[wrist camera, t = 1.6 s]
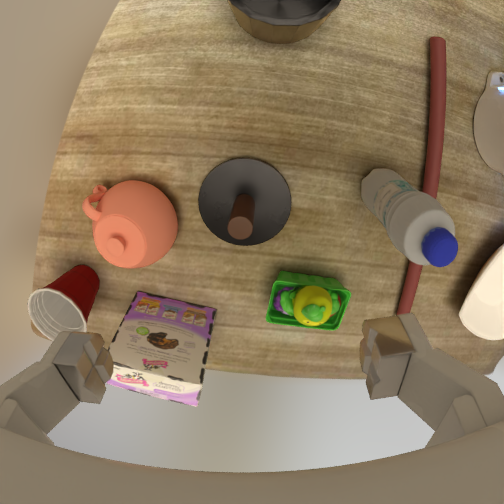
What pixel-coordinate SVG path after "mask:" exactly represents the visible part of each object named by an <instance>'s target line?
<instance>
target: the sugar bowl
mask: <svg viewBox="0 0 504 504" xmlns="http://www.w3.org/2000/svg"><path fill="white" fill-rule="evenodd" d="M97 201H99V203H98V205H97V207H96V209H95V208H93V207H92V205H91V204H90V203H93V202H97ZM83 211H84V212H85V214H86V215H87V216H88V217H89V218H91V219H92V220H93V237H94V241H95V244H96V247H97V249H98V251H99V252H100V254H101V255H102V256H103V257H104V258H105V259H106V260H107V261H108V262H110V263H111V264H113V265H116V266H118V267H122V268H141V267H145V266H148V265H151V264H153V263H155V262H156V261H158V260H159V259H161V258H162V257H163V256H164V255H165V254H166V253H167V252H168V251H169V250H170V248H171V247H172V245H173V244H174V242H175V239H176V236H177V231H178V222H177V216H176V213H175V210H174V207H173V206H172V204H171V202H170V201H169V199H168V198H167V197H166V196H165V195H164V193H162V192H161V191H160V190H159V189H158V188H156V187H154V186H153V185H151V184H148V183H146V182H142V181H135V180H130V181H124V182H121V183H118V184H116V185H114V186H113V187H112V188H110V189H109V190H108V191H107V189H106V188H105V187H104V186H102V185H97V186H96V187H94V189H93V194H92V195H89V196H88V197H86V199H85V200H84V202H83Z"/></svg>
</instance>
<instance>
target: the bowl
mask: <svg viewBox="0 0 504 504" xmlns="http://www.w3.org/2000/svg"><path fill="white" fill-rule="evenodd" d="M459 317H460V319H461V321H462V323H463V325H464V326H465V327H466V328H467V329H468V330H469V331H471V332H472V333H473V334H475V335H476V336H479V337H481V338H484V339H488V340H501V339H503V338H504V244H503V245H501V246H500V247H499V248H498V249H497V250H496V251H495V252H494V253H493V254H492V256H491V257H490V258H489V259H488V260H487V262H486V263H485V264H484V265H483V267H482V268H481V270H480V272H479V273H478V275H477V277H476V279H475V280H474V282H473V284H472V286H471V288H470V290H469V292H468V294H467V296H466V298H465V301H464V303H463V305H462V307H461V309H460V312H459Z"/></svg>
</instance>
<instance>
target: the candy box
mask: <svg viewBox="0 0 504 504" xmlns="http://www.w3.org/2000/svg"><path fill="white" fill-rule="evenodd" d="M216 312H217V310H216V309H214V308H210V307H205V306H199V305H195V304H191V303H186V302H181V301H178V300H173V299H168V298H164V297H160V296H155V295H151V294H148V293H143V292H139V291H138V292H137V293H136V295H135V297H134V299H133V301H132V303H131V305H130V307H129V309H128V310H127V312H126V314H125V316H124V318H123V320H122V322H121V324H120V326H119V328H118V330H117V332H116V334H115V336H114V338H113V340H112V342H111V344H110V346H109V348H108V351H109V352H110V354H111V356H112V358H113V363H114V368H113V374H112V377H111V379H110V380H109V381H107V384H109V385H113V386H116V387H120V388H123V389H127V390H131V391H134V392H138V393H142V394H145V395H149V396H153V397H157V398H161V399H165V400H170V401H174V402H178V403H183V404H187V405H192V406H196V407H197V406H198V403H199V399H200V395H201V390H202V385H203V379H204V373H205V367H206V362H207V356H208V351H209V345H210V340H211V335H212V330H213V326H214V321H215V317H216Z"/></svg>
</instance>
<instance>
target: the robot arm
mask: <svg viewBox="0 0 504 504" xmlns="http://www.w3.org/2000/svg"><path fill="white" fill-rule="evenodd" d="M500 79H501V81H500ZM474 136H475V141H476V145H477V148H478V151H479V153H480V155H481V157H482V159H483V160H484V161H485V163H486V164H487V165H488V166H489V167H490V168H492V169H494V170H495V171H498V172H500V173H501V174H502V175H503V176H504V72H497V71H491V72H490V73H489V74H488V78H487V83H486V89H485V91H484V93H483V94H482V96H481V97H480V99H479V101H478V104H477V107H476V110H475V115H474ZM362 332H363V335H364V338H363V339H362V340H361V342H360V363H361V367H362V371H363V372H364V373H365V374H367V379H366V385H367V389H368V392H369V395H370V399H371V400H373V399H379V398H386V397H392V396H398V398H399V399H400V400H401V401H403V402H404V403H405V404H406V405H407V406H408V407H409V408H410V409H411V410H412V411H414V412H415V413H416V414H417V415H418V416H419V417H420V418H421V419H422V420H423V421H425V422H426V423H427V424H428V425H429V426H430V427H431V428H432V429H433V430H434V431H435V433H434V434H433V436H432V438H431V439H430V441H429V442H428V444H427V445H426V447H425V448H423V449H419V450H416V451H412V452H408V453H404V454H400V455H396V456H391V457H387V458H382V459H377V460H372V461H367V462H361V463H355V464H349V465H342V466H335V467H328V468H319V469H310V470H297V471H284V472H258V473H257V472H256V473H233V472H229V473H228V472H204V471H189V470H178V469H167V468H160V467H151V466H145V465H138V464H132V463H126V462H120V461H115V460H110V459H105V458H100V457H96V456H91V455H87V454H83V453H79V452H75V451H71V450H68V449H64V448H60V447H57V446H54V443H53V442H52V441H51V440H50V438H49V437H48V436H47V434H48V433H49V432H50V431H51V430H52V429H53V428H54V427H55V426H56V425H57V424H58V423H59V422H60V421H61V420H62V419H63V418H64V417H65V416H66V415H67V414H68V413H70V411H72V410H73V409H74V408H75V407H76V406H77V405H78V404H79V403H80V402H79V401H81V402H88V403H98V404H100V402H101V400H102V398H103V395H104V393H105V391H106V387H105V383H106V382H107V381H109V380H110V379H111V377H112V374H113V368H114V363H113V358H112V356H111V354H110V352H109V351H108V350H106V349H105V348H104V347H103V346H104V343H105V342H104V340H103V338H102V336H101V334H98V333H90V332H75V331H74V332H71V331H62V332H60V333H59V334H58V335H57V337H56V338H55V340H54V341H53V343H52V344H51V346H50V347H49V349H48V351H47V352H46V353H45V355H44V356H43V358H42V359H41V361H40V362H36V363H34V364H32V365H31V366H29V367H28V368H26V369H25V370H23V371H22V372H20V373H19V374H17V375H16V376H14V377H13V378H11V379H10V380H8V381H7V382H5V383H4V384H2V385H1V386H0V504H504V396H503V394H502V392H501V390H500V388H499V387H498V385H497V383H496V382H494V381H492V380H491V379H489V378H487V377H486V376H484V375H482V374H481V373H479V372H477V371H475V370H474V369H472V368H470V367H469V366H467V365H465V364H464V363H462V362H460V361H459V360H457V359H455V358H454V357H452V356H450V355H449V354H447V353H445V352H444V351H442V350H440V349H438V348H435V349H433V347H432V345H431V344H430V342H429V340H428V338H427V336H426V334H425V333H424V331H423V329H422V327H421V325H420V324H419V322H418V320H417V318H416V317H415V315H414V314H413V313H406V314H400V315H396V316H389V317H382V318H375V319H368V320H364V322H363V327H362Z"/></svg>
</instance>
